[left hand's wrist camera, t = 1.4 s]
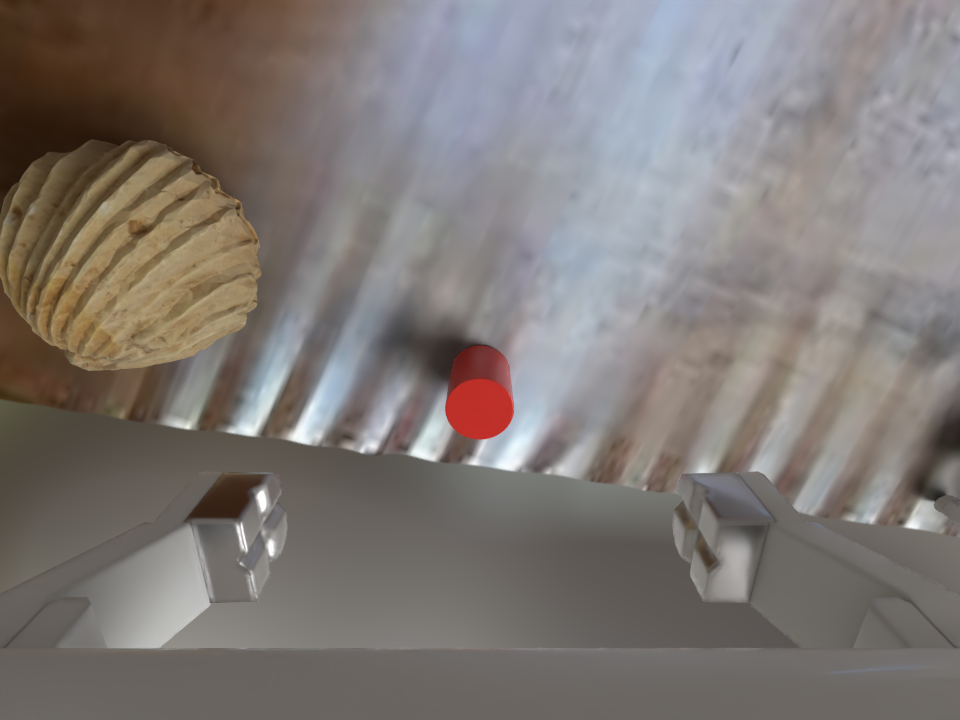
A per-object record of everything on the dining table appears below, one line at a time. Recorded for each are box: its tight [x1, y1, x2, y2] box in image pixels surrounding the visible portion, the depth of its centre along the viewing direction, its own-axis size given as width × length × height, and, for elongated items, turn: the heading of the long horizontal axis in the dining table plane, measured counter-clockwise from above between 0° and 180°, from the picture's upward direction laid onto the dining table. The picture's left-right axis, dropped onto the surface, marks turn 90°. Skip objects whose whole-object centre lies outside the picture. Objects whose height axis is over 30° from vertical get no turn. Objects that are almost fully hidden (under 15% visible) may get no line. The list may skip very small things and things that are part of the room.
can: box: [445, 345, 514, 439], centre depth 43 cm, size 5×5×7 cm
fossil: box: [0, 139, 261, 371], centre depth 35 cm, size 15×17×15 cm
